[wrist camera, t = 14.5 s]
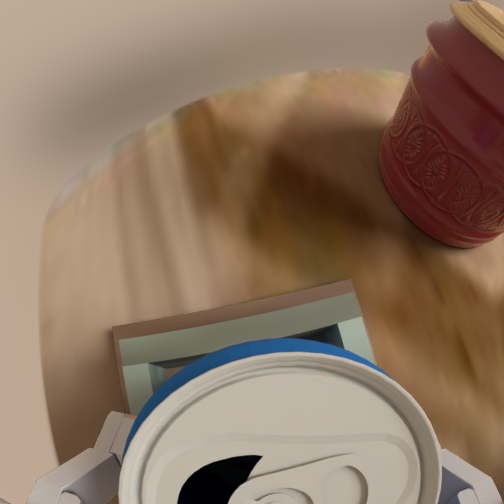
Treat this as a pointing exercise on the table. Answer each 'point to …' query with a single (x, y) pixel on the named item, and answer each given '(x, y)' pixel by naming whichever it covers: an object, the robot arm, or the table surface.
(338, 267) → the table surface
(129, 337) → the cradle
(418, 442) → the beverage can
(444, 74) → the canister
